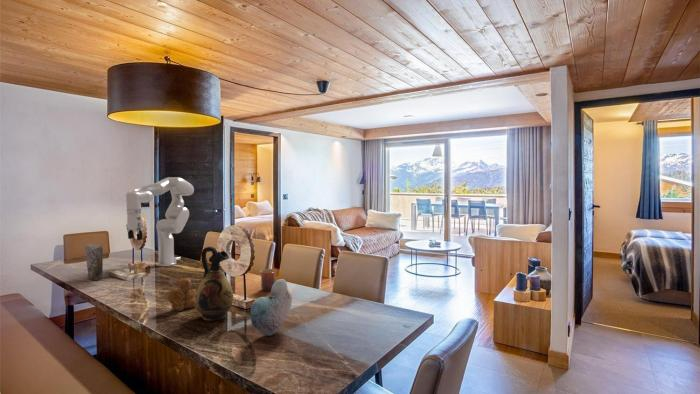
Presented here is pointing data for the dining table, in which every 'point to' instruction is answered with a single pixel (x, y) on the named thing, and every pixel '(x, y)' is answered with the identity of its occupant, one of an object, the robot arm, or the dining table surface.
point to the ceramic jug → (214, 288)
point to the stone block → (94, 261)
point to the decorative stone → (271, 309)
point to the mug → (267, 279)
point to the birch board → (126, 274)
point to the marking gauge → (138, 267)
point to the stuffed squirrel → (182, 295)
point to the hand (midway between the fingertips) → (135, 239)
